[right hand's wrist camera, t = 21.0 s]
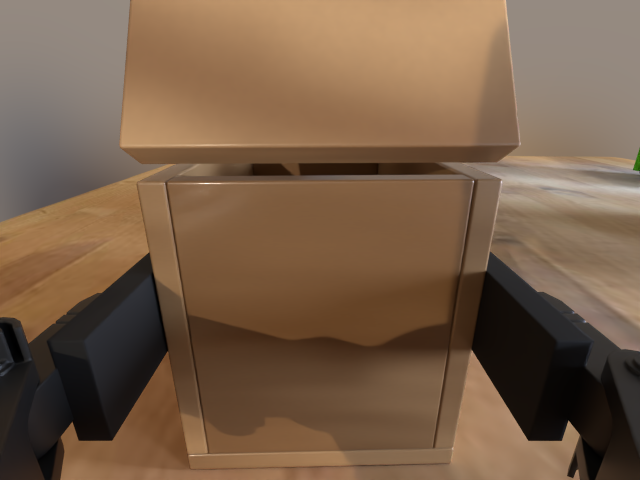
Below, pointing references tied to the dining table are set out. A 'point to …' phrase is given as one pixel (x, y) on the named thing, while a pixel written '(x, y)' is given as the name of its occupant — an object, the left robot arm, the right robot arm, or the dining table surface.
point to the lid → (318, 82)
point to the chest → (319, 306)
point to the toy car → (637, 162)
